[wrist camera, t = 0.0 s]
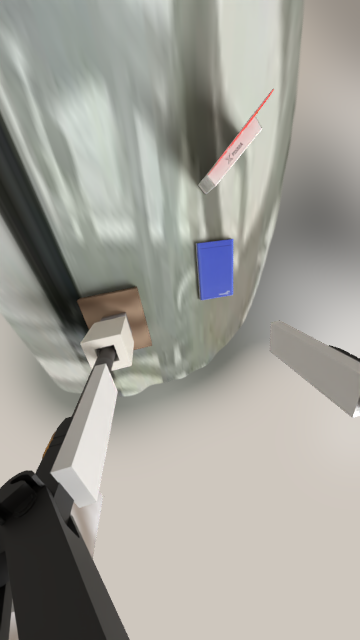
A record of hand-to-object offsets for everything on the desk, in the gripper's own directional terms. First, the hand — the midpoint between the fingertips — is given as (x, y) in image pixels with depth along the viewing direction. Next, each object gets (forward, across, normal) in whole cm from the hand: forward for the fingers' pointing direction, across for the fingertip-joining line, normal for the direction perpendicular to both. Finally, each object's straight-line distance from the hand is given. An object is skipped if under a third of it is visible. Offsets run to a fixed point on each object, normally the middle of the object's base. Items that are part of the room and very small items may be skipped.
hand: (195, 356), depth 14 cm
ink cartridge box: (+28, +16, +20) cm, 38 cm away
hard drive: (+29, +13, +1) cm, 31 cm away
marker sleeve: (+22, -11, -6) cm, 25 cm away
